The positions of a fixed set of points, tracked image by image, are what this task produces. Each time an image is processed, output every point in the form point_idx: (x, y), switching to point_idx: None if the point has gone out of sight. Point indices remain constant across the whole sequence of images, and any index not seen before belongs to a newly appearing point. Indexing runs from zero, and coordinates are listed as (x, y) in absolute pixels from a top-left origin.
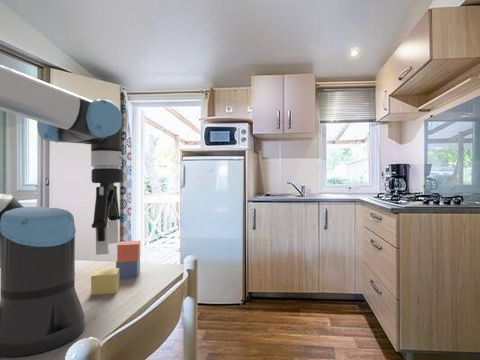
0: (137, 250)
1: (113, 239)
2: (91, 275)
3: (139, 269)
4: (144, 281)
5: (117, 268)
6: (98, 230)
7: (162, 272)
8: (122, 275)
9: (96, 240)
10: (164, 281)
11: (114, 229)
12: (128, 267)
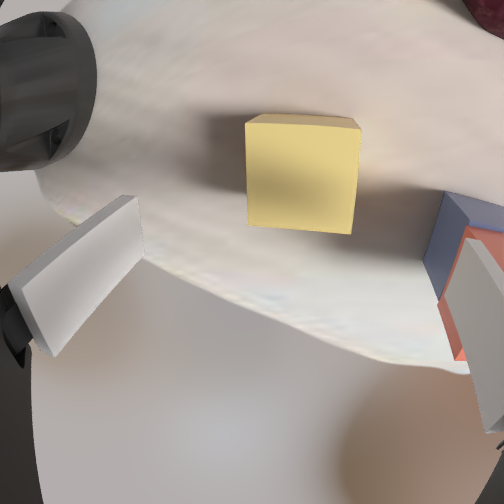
0: (449, 334)
1: (462, 287)
2: (252, 123)
3: None
4: (363, 280)
5: (347, 226)
6: (9, 290)
7: (433, 330)
8: (441, 218)
9: (69, 236)
10: (336, 328)
11: (480, 349)
12: (443, 255)
